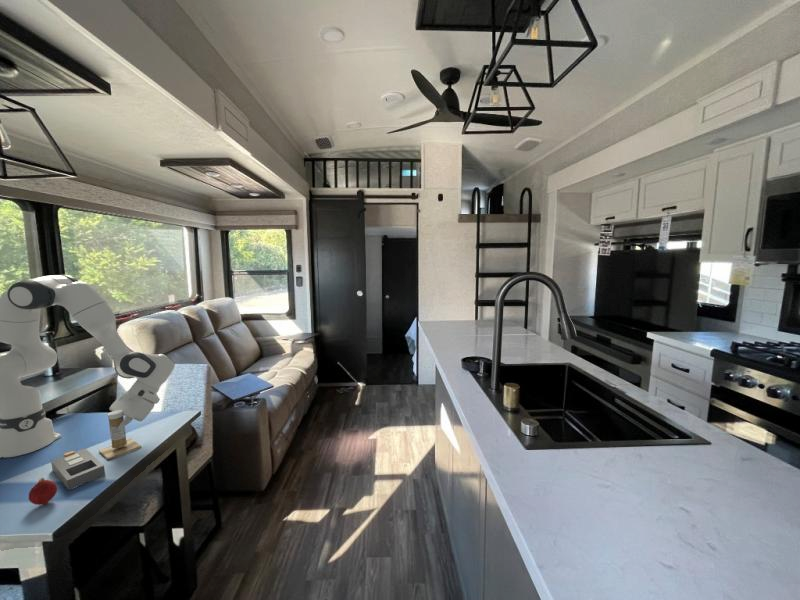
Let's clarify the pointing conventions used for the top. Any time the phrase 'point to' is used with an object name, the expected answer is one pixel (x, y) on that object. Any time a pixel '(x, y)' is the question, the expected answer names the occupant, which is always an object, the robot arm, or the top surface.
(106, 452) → the wooden mat
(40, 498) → the onion
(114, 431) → the sprinkles bottle
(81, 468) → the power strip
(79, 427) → the top surface
